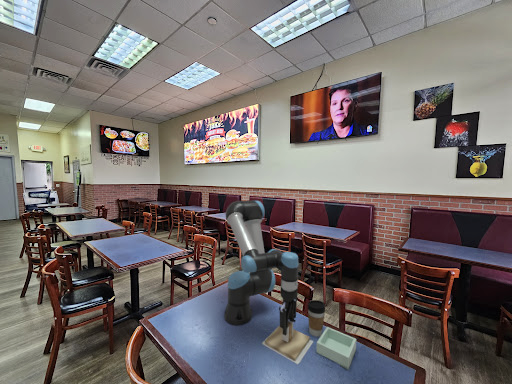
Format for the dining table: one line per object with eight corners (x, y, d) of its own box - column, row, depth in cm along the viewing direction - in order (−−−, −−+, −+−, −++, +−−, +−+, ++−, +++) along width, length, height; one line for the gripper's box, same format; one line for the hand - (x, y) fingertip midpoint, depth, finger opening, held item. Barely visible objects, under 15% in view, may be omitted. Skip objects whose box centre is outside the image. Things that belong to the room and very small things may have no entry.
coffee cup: (325, 340, 100) (326, 309, 100) (306, 338, 102) (307, 307, 101) (323, 328, 108) (324, 299, 108) (306, 326, 110) (307, 297, 109)
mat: (261, 344, 97) (261, 343, 97) (279, 326, 110) (279, 325, 110) (298, 365, 86) (298, 364, 86) (313, 342, 99) (313, 341, 99)
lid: (264, 343, 97) (265, 325, 96) (281, 325, 109) (282, 310, 108) (294, 360, 88) (295, 341, 87) (309, 339, 100) (310, 322, 99)
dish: (316, 353, 93) (316, 342, 92) (326, 336, 103) (327, 326, 103) (348, 370, 85) (348, 357, 84) (356, 349, 95) (356, 338, 95)
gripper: (287, 298, 88) (285, 353, 89) (304, 283, 101) (303, 331, 103) (272, 292, 93) (270, 344, 94) (290, 278, 106) (289, 324, 107)
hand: (287, 337), depth 98 cm, fingers closed on lid, 3 cm apart
